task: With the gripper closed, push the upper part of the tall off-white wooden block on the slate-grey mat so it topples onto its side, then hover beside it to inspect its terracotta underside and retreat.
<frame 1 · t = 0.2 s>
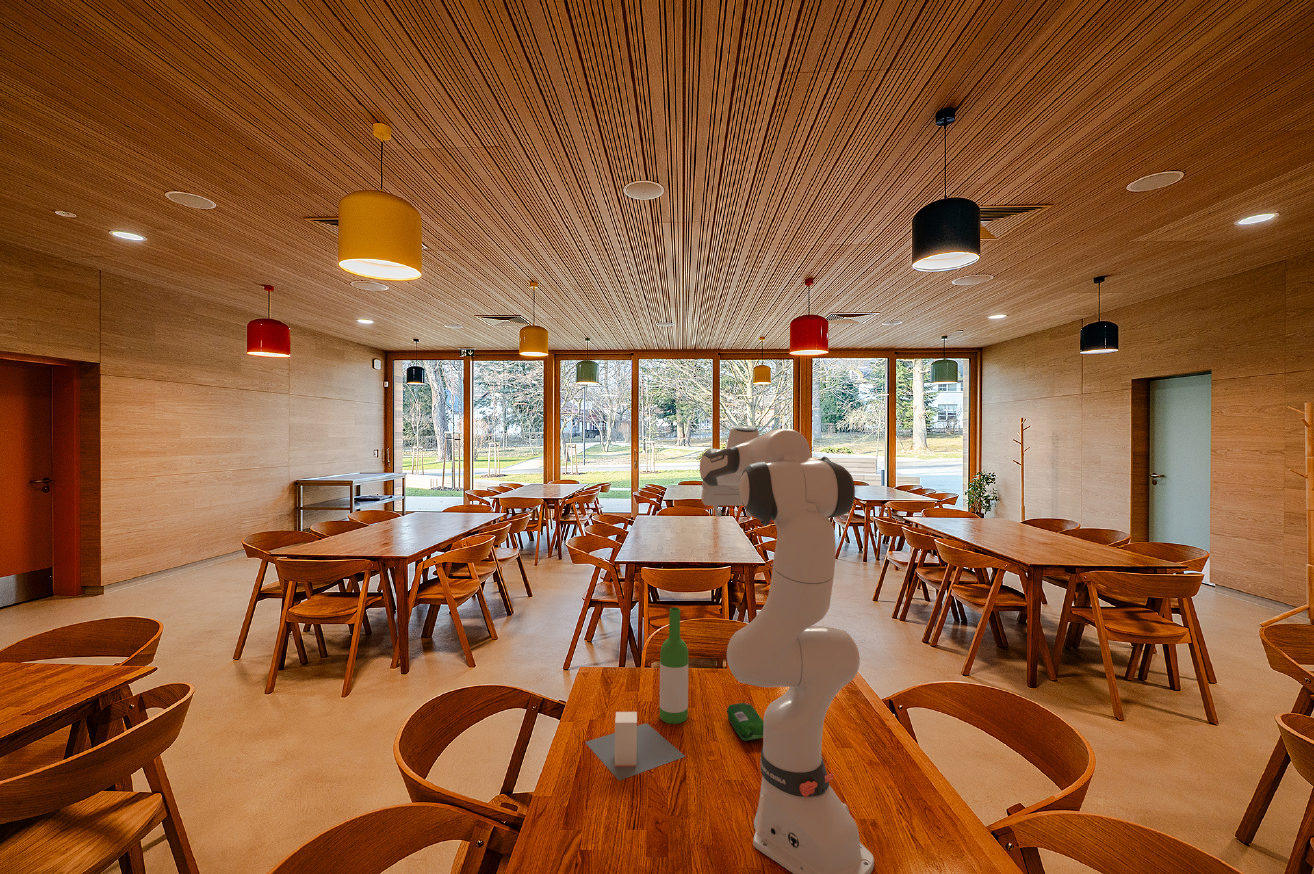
hand: (733, 515, 161), 54 cm above the table, fingers open, 8 cm apart
mat: (634, 751, 130), on the table
snack package: (746, 732, 140), on the table
wine bottle: (673, 719, 146), on the table
block: (625, 760, 125), point 1 cm above the table, touching mat
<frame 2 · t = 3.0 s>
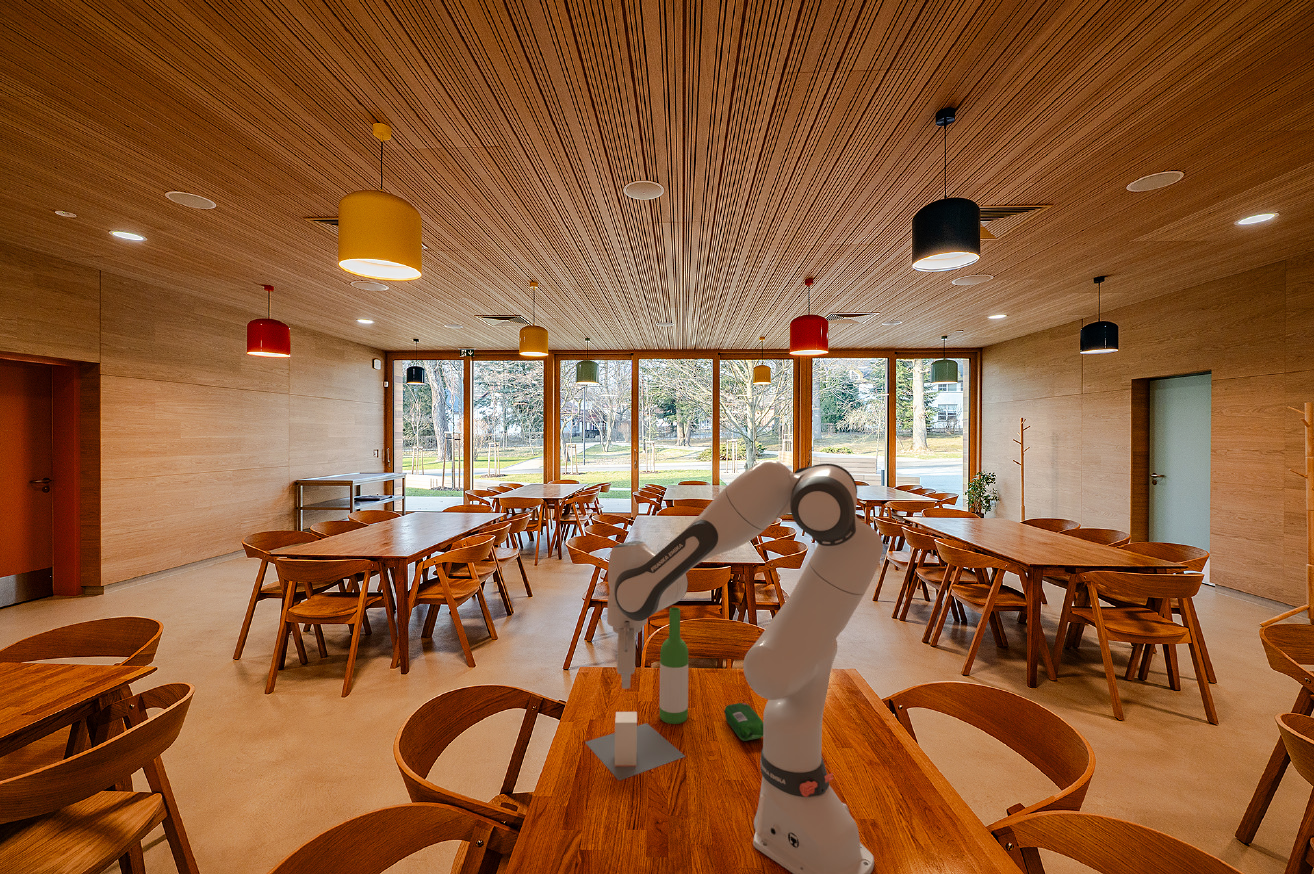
hand: (626, 677, 118), 23 cm above the table, fingers open, 8 cm apart
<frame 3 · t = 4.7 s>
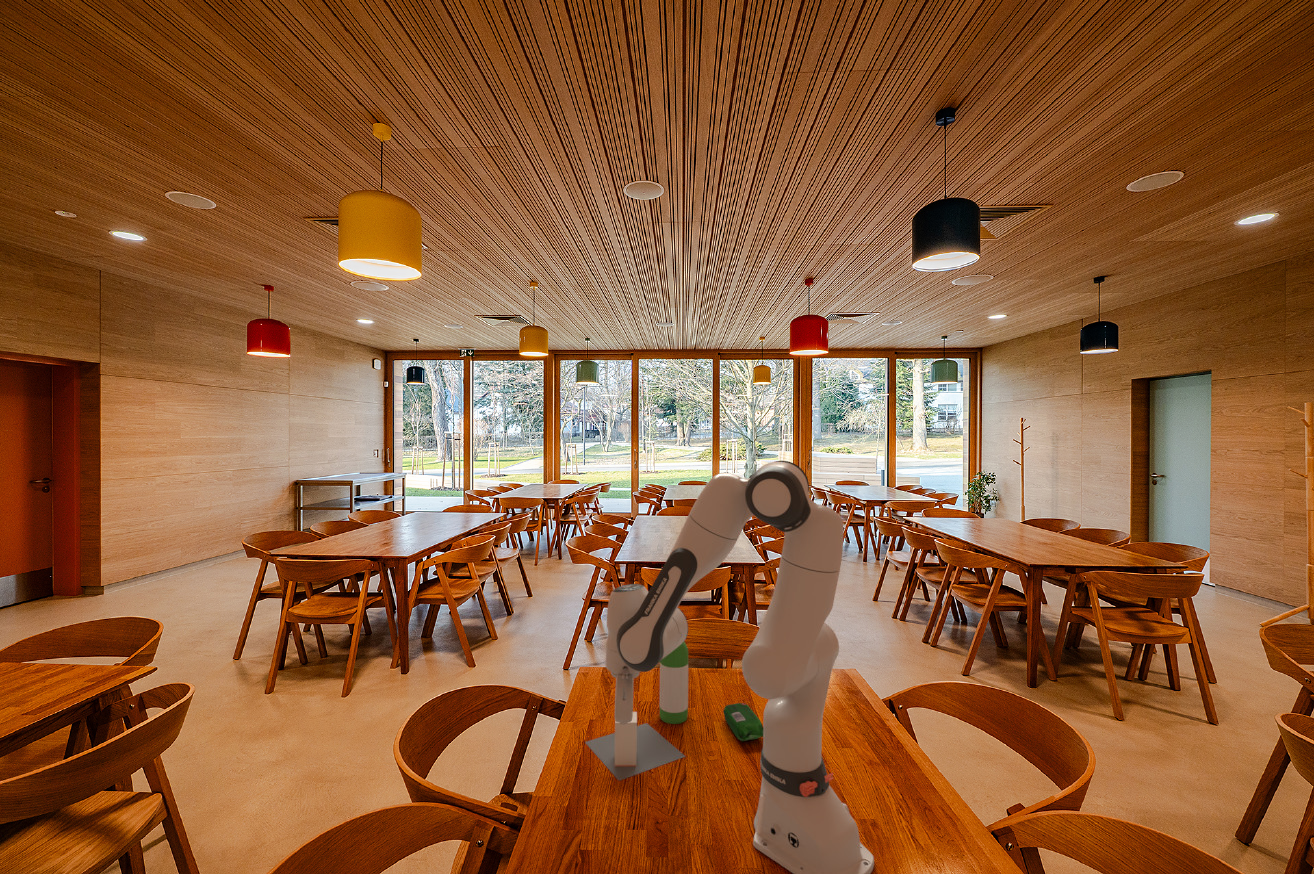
hand: (623, 721, 118), 14 cm above the table, fingers closed
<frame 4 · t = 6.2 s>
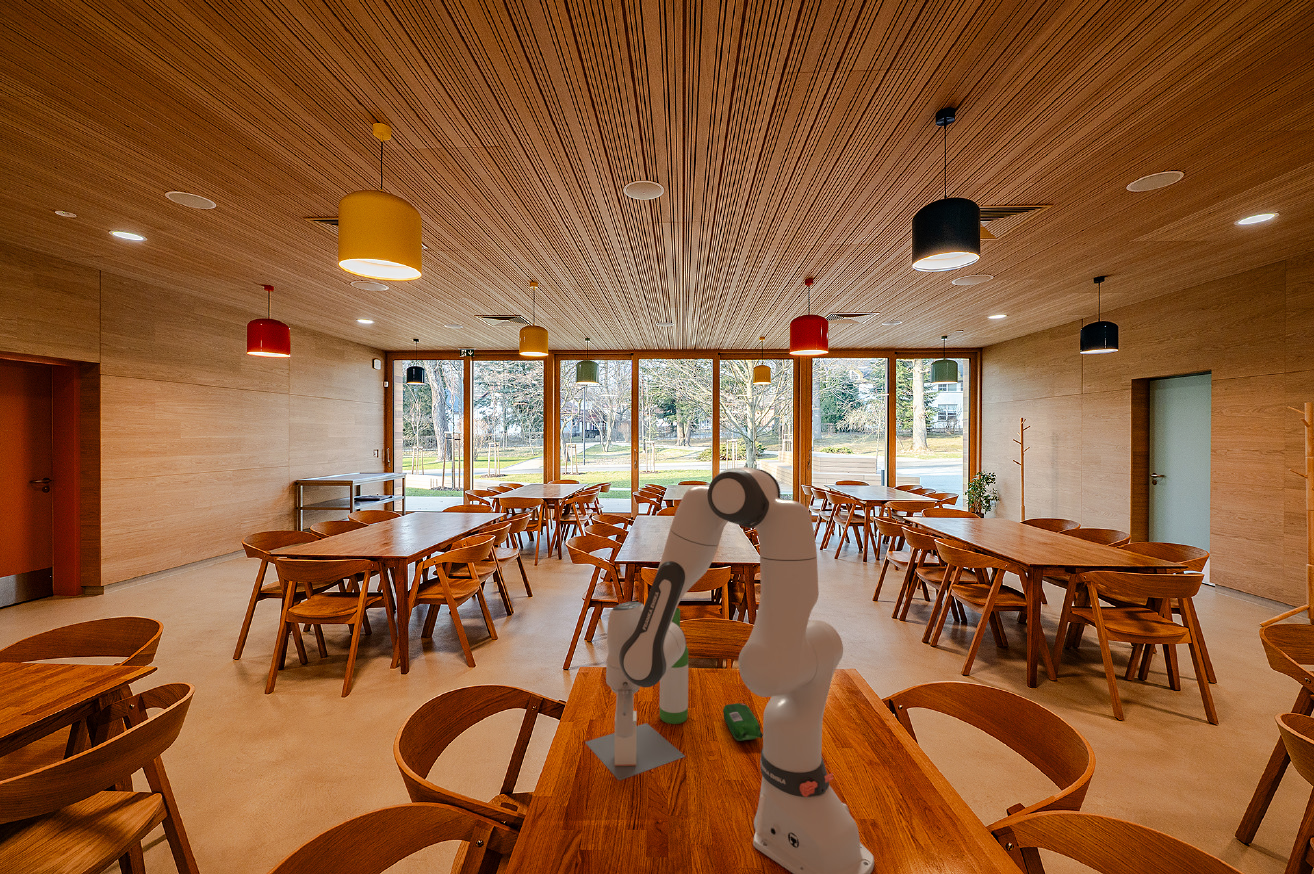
hand: (624, 735, 122), 8 cm above the table, fingers closed
block: (625, 759, 125), point 1 cm above the table, touching gripper, mat
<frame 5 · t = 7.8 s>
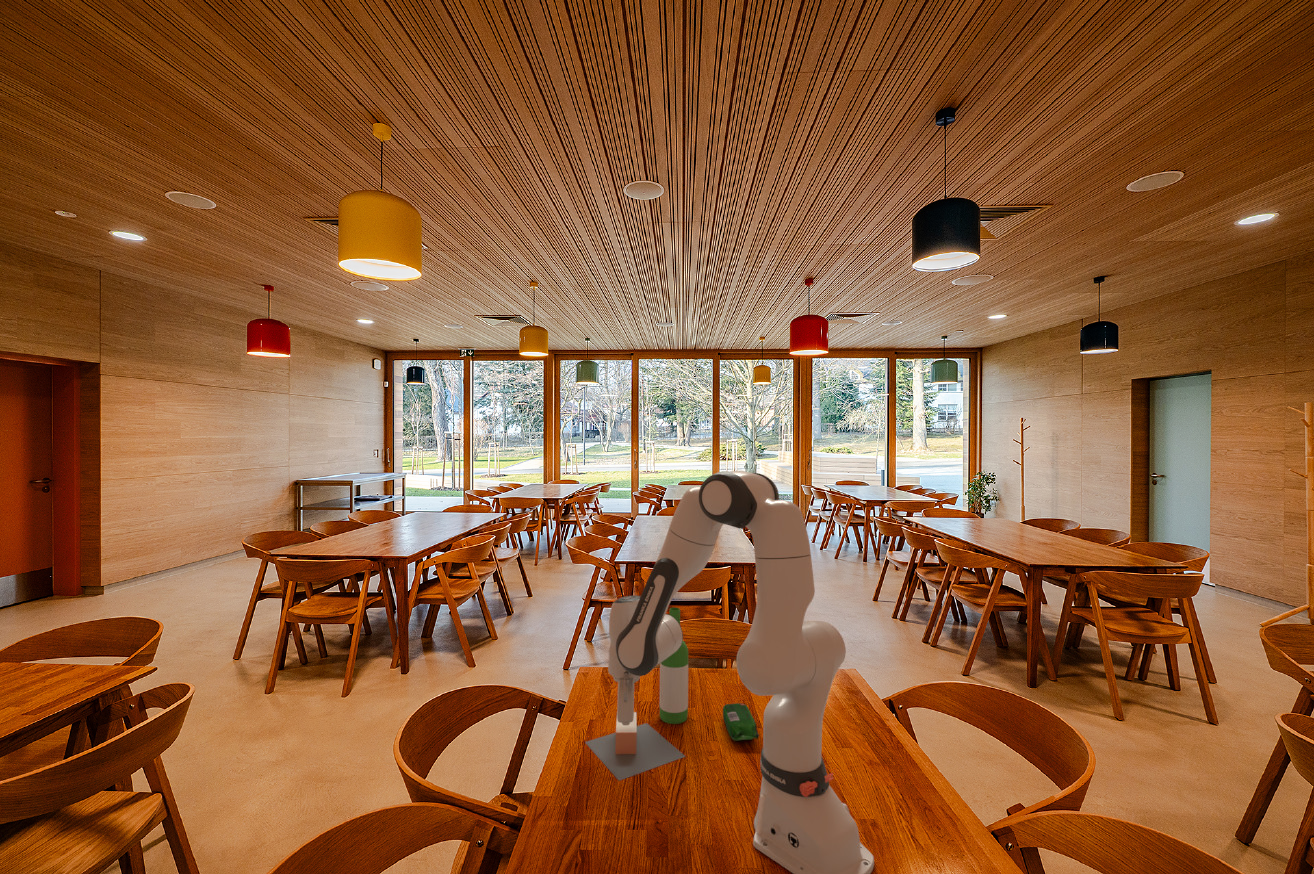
hand: (625, 722, 128), 8 cm above the table, fingers closed
block: (626, 743, 128), point 3 cm above the table, tilted 90°, touching mat
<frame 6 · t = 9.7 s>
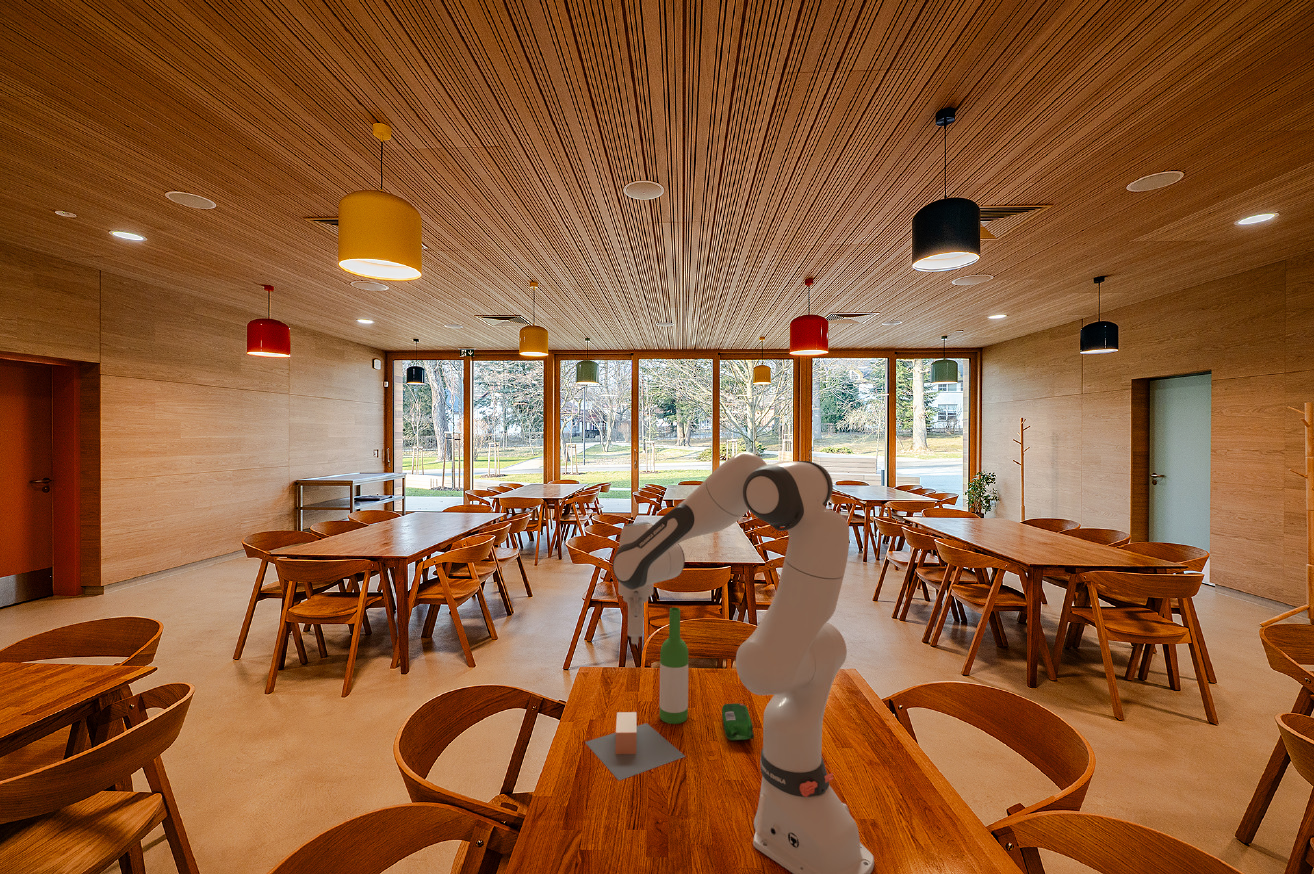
hand: (634, 641, 133), 25 cm above the table, fingers closed
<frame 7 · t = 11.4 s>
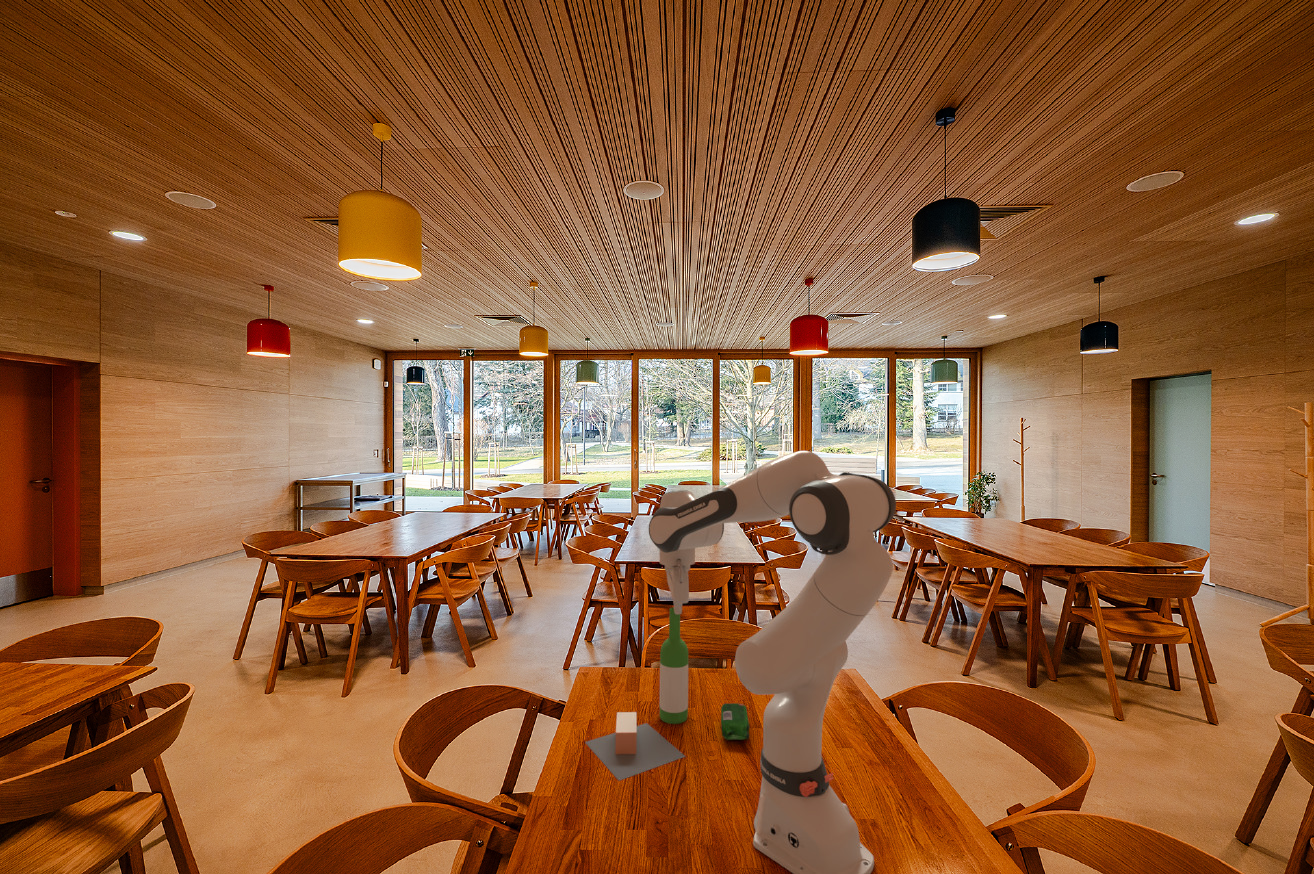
hand: (677, 612, 131), 34 cm above the table, fingers closed
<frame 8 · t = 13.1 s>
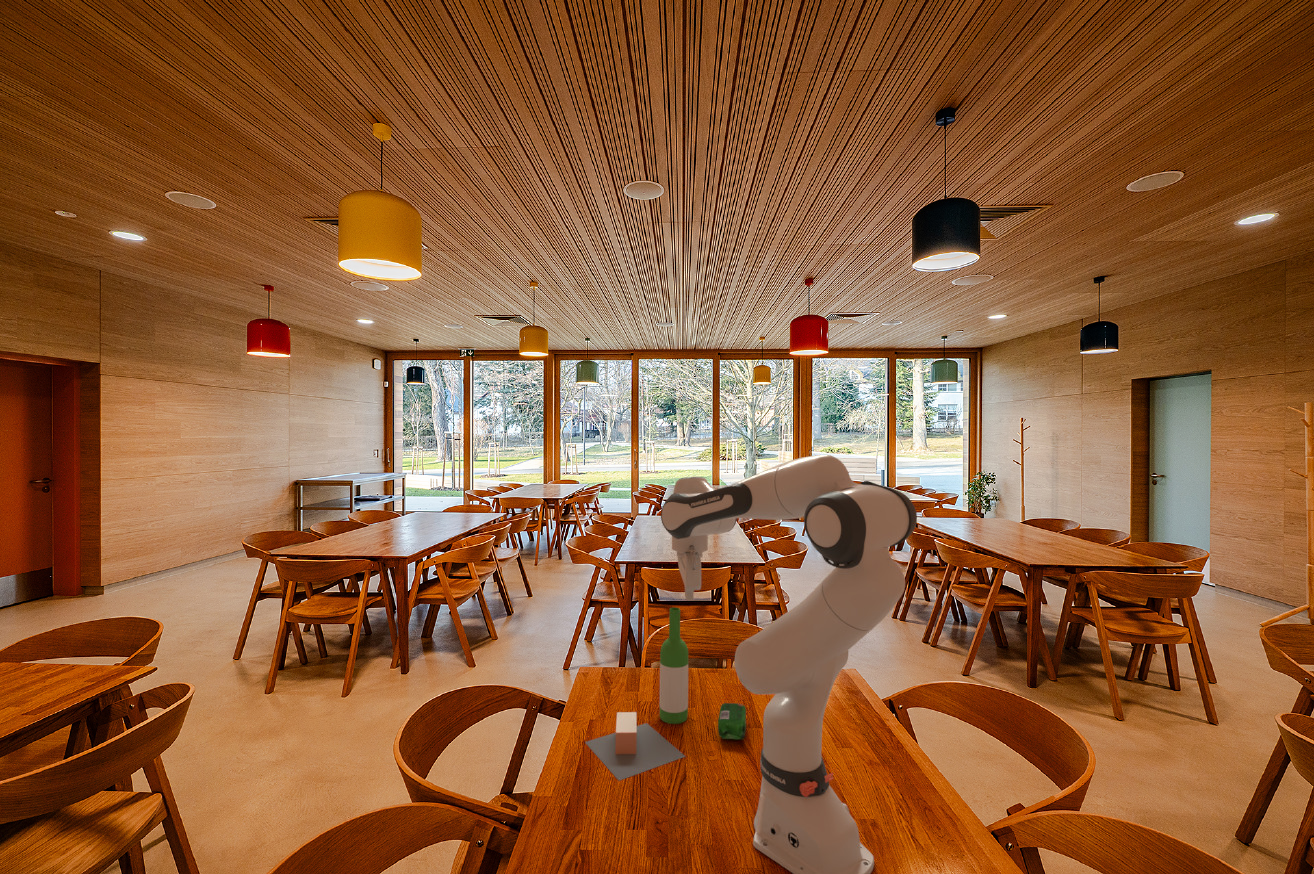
hand: (689, 599, 131), 37 cm above the table, fingers closed
at the end: block tilted 90°; block inside the target area (0.4 cm from its centre), point 3.1 cm above the table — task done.
